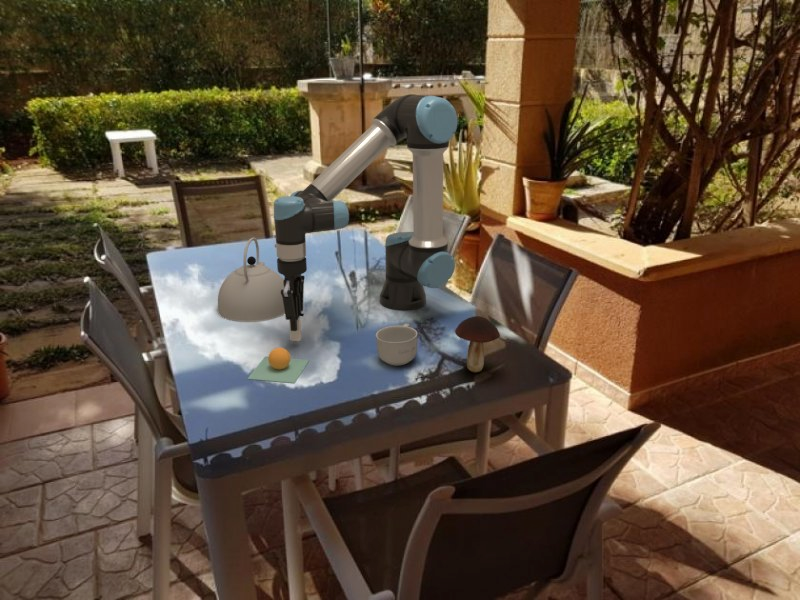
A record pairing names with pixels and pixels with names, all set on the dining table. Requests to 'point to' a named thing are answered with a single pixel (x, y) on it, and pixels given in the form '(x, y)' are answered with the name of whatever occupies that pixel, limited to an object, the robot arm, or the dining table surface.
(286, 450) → the dining table surface
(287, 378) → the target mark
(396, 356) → the teacup
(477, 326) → the decorative mushroom
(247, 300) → the kettle
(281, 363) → the ball
